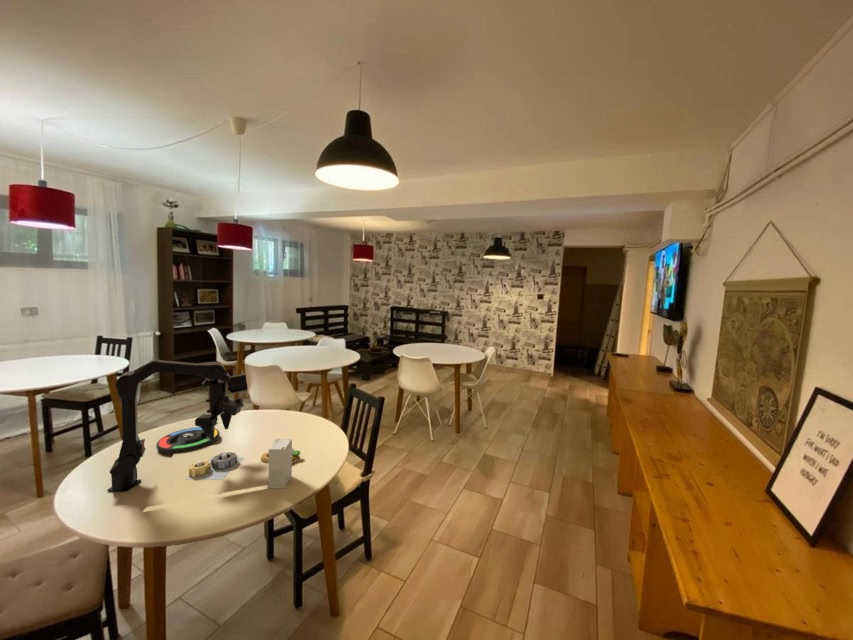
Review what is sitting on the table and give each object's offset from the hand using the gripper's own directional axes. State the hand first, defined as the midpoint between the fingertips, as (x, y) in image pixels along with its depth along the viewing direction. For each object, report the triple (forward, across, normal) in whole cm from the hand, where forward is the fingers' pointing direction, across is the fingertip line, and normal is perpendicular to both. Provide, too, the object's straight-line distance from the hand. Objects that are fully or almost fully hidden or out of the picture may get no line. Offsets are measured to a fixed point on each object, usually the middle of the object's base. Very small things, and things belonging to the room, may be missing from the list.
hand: (219, 434), depth 131 cm
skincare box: (+14, -10, -28) cm, 33 cm away
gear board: (+13, -4, -1) cm, 13 cm away
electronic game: (+13, +17, +25) cm, 33 cm away
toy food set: (+14, +6, -21) cm, 26 cm away
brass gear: (+11, -8, +3) cm, 14 cm away
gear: (+12, -1, -2) cm, 12 cm away
